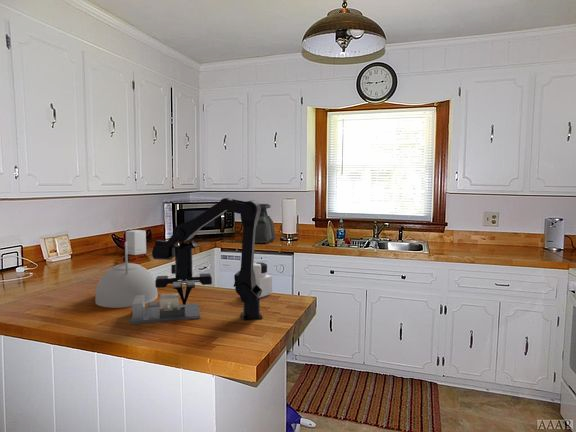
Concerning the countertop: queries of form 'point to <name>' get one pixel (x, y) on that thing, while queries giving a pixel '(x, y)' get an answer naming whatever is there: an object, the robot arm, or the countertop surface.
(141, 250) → the supplement box
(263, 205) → the bottle
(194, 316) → the gauge bench
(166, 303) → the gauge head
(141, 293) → the grey dome with rod
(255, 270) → the container
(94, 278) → the countertop surface
